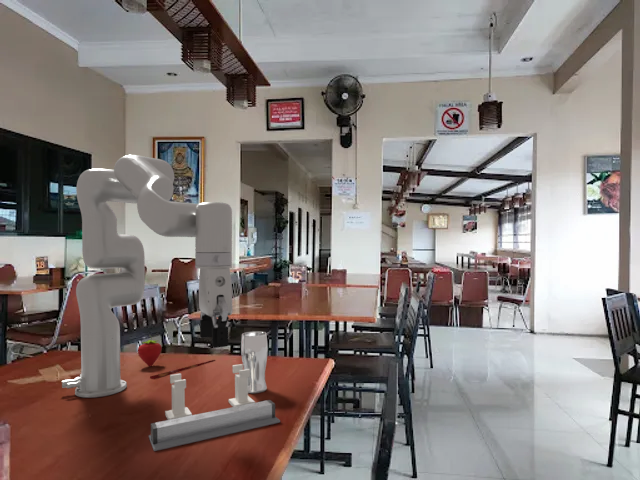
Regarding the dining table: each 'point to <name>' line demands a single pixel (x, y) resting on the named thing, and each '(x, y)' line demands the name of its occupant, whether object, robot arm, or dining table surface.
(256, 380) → the silver metal cup
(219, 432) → the mat
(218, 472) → the dining table surface
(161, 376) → the chopstick
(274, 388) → the dining table surface
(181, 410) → the standard left
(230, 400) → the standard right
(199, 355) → the dining table surface
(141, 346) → the strawberry
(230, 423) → the steel rail
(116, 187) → the robot arm
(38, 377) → the dining table surface
